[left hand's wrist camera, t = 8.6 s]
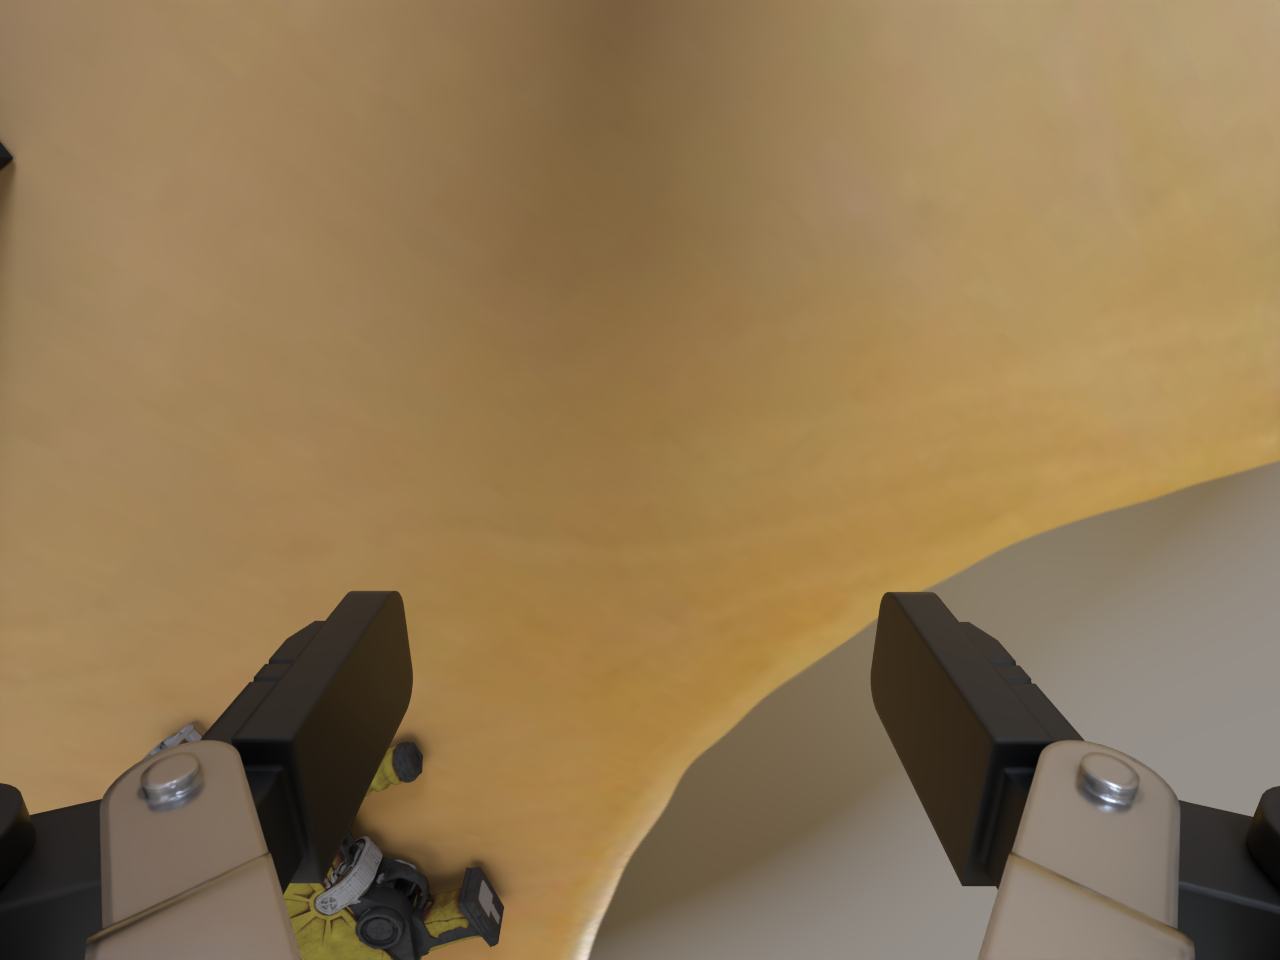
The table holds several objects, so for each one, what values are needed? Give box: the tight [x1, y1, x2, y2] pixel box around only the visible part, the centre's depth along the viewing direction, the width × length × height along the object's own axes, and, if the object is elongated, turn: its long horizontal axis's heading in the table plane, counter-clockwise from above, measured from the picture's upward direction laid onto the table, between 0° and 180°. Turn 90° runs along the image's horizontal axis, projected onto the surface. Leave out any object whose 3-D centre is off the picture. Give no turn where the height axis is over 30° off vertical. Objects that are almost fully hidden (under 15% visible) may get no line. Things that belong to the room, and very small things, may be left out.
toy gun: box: [141, 723, 504, 960], centre depth 46 cm, size 5×24×15 cm
